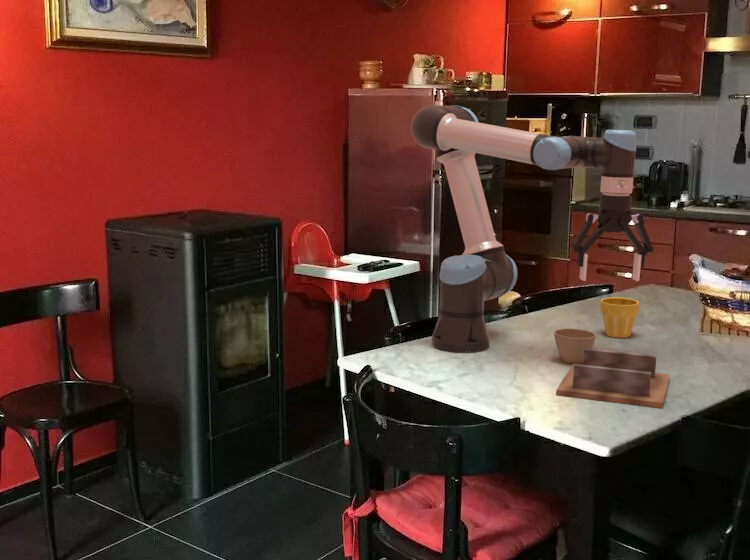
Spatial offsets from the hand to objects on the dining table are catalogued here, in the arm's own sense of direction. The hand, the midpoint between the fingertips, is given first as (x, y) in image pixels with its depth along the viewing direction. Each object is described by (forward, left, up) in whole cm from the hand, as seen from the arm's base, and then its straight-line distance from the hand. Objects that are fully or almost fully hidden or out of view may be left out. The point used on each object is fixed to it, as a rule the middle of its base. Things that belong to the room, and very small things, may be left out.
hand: (609, 280), depth 212 cm
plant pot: (0, +26, -20) cm, 33 cm away
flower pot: (-7, -6, -20) cm, 22 cm away
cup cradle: (+5, -24, -20) cm, 32 cm away
